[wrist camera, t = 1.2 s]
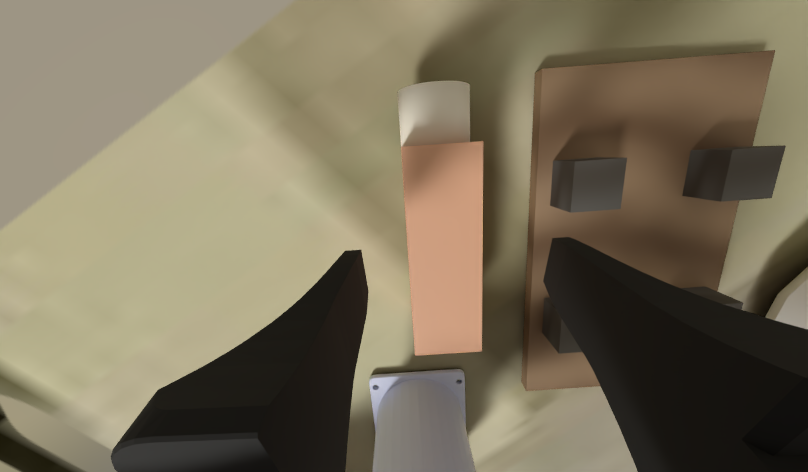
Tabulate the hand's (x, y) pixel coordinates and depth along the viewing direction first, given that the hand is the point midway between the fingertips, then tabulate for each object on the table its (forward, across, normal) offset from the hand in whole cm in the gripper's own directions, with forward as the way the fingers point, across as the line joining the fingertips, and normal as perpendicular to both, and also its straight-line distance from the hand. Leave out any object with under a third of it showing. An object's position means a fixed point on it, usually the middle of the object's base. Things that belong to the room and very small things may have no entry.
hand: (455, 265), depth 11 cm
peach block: (+10, 0, +3) cm, 10 cm away
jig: (+9, -14, +6) cm, 18 cm away
